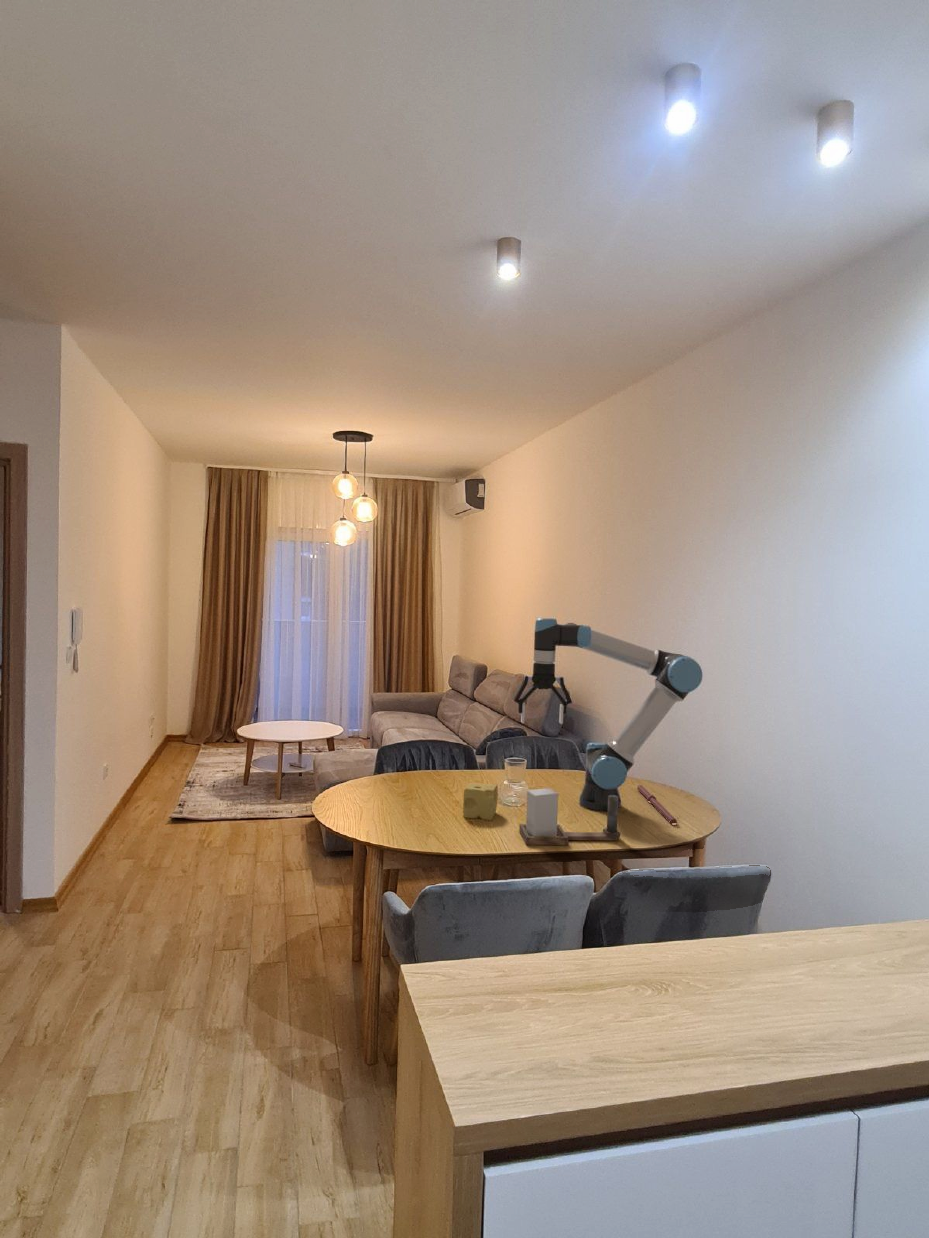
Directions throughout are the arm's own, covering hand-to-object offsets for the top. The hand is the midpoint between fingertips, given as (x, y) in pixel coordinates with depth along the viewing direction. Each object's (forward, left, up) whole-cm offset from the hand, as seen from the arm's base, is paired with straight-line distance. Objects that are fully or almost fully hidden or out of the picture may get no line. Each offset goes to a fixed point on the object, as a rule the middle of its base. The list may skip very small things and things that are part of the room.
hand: (541, 723), depth 270 cm
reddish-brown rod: (-46, -9, -32) cm, 57 cm away
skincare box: (+5, +30, -32) cm, 44 cm away
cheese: (+21, +3, -32) cm, 38 cm away
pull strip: (-5, +28, -31) cm, 42 cm away
